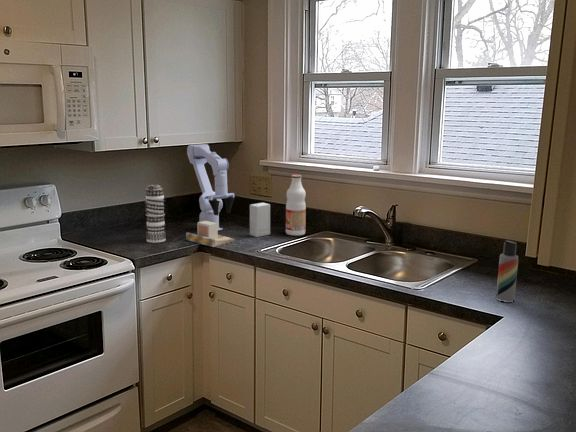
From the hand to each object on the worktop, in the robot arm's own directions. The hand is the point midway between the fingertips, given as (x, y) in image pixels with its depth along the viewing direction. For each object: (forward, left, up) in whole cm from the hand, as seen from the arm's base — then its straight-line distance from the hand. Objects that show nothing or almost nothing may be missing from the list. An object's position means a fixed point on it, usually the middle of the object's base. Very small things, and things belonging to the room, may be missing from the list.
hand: (222, 214), depth 272 cm
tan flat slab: (+4, -10, -10) cm, 15 cm away
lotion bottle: (+132, +4, -10) cm, 133 cm away
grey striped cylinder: (-14, -27, -10) cm, 32 cm away
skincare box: (+12, +13, -10) cm, 20 cm away
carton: (+3, -12, -9) cm, 15 cm away
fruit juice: (+22, +27, -10) cm, 36 cm away
